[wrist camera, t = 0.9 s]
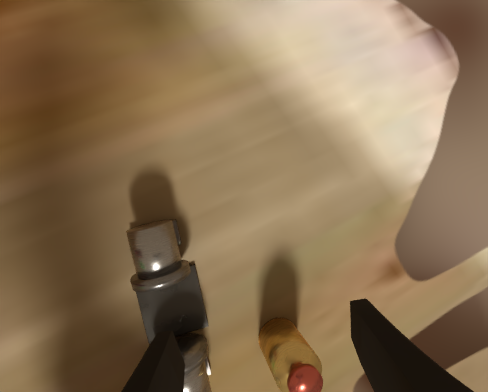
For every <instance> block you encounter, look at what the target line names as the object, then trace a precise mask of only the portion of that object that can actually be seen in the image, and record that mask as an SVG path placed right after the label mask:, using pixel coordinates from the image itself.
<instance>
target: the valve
mask: <svg viewBox="0 0 488 392" xmlns="http://www.w3.org/2000/svg"><path fill="white" fill-rule="evenodd" d="M259 345H260V348H261V350H262V352H263V354H264V357H265V359H266V361H267V363H268V366H269V368H270V370H271V372H272V375H273V377H274V379H275V381H276V383H277V386H278V388H279V389H280V390H281V391H282V392H321V389H322V386H323V379H322V376H321V373H322V365H321V362H320V359H319V358H318V356H317V355H316V354H315V352H314V351H313V350H312V348H311V347H310V346H309V344H308V343H307V342H306V340H305V339H304V338H303V336H302V335H301V334H300V332H299V331H298V330H297V328H296V327H295V326H294V324H293V323H292V322H291V321H289V320H288V319H285V318H275V319H272V320H270V321H268V322H267V323H266V324H265V325H264V326H263V327H262V329H261V331H260V334H259Z"/></svg>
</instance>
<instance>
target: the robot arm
mask: <svg viewBox="0 0 488 392" xmlns="http://www.w3.org/2000/svg"><path fill="white" fill-rule="evenodd" d="M350 312H351V338H352V341H353V344H354V346H355V349H356V352H357V355H358V357H359V360H360V363H361V365H362V367H363V369H364V371H365V373H366V375H367V377H368V379H369V382H370V384H371V386H372V388H373V390H374V392H474V391H472V390H471V389H469V388H468V387H467V386H465V385H464V384H463V383H461V382H460V381H459V380H457V379H456V378H455V377H453V376H452V375H451V374H449V373H448V372H447V371H446V370H444V369H443V368H442V367H440V366H439V365H438V364H437V363H436V362H434V361H433V360H432V359H431V358H430V357H428V356H427V355H426V354H424V353H423V352H422V351H421V350H420V349H419V348H418V347H417V346H415V345H414V344H413V343H412V342H411V341H410V340H409V339H408V338H407V337H405V336H404V335H403V334H402V333H401V332H400V331H399V330H398V329H397V328H396V327H395V326H394V325H392V324H391V323H390V322H389V321H388V320H387V319H386V318H385V317H384V316H383V315H382V314H381V313H380V312H379V311H378V310H377V309H376V308H375V307H374V306H373V305H372V304H371V303H370V302H369V301H368V300H367V299H360V300H354V301H350ZM184 376H185V362H184V360H183V357H182V354H181V352H180V349H179V347H178V344H177V341H176V339H175V336H174V334H173V331H172V330H171V331H165V332H158V333H157V334H156V335H155V337H154V339H153V340H152V342H151V344H150V346H149V347H148V349H147V351H146V352H145V354H144V356H143V358H142V359H141V361H140V363H139V364H138V366H137V368H136V369H135V371H134V372H133V374H132V376H131V377H130V379H129V380H128V382H127V384H126V385H125V387H124V388H123V390H122V392H183V390H184Z"/></svg>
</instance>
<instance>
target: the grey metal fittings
mask: <svg viewBox="0 0 488 392" xmlns="http://www.w3.org/2000/svg"><path fill="white" fill-rule="evenodd" d="M126 233H127V237H128V241H129V245H130V249H131V253H132V257H133V261H134V265H135V269H136V274H134V275H133V276H132V277H131V279H130V280H131V284H132V288H133V290H134V291H136V294H137V298H138V302H139V306H140V310H141V314H142V318H143V322H144V326H145V330H146V334H147V338H148V342H149V344H151V342H152V340H153V339H154V337H155V335H156V334H157V333H158V332H165V331H171V330H172V331H173V334H174V336H176V337H175V339H176V341H177V344H178V347H179V349H180V352H181V354H182V357H183V360H184V362H185V376H184V390H183V392H212V391H211V387H210V383H209V378H208V375H211V370H210V366H209V361H208V357H207V355H208V352H209V349H208V345H207V341H206V338H205V337H204V336H202V335H200V334H196V333H189V334H185V333H188V332H191V331H194V330H198V329H201V328H204V327H208V322H207V317H206V313H205V308H204V304H203V299H202V295H201V291H200V286H199V282H198V277H197V273H196V268H195V264H194V265H190V266H189V262H188V261H186V260H181V256H180V252H179V248H178V245H179V244H181V239H180V235H179V230H178V226H177V222H176V220H163V221H157V222H152V223H148V224H144V225H141V226H137V227H134V228H132V229H129V230H127V231H126ZM181 334H183V335H181ZM178 335H179V336H178Z"/></svg>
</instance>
